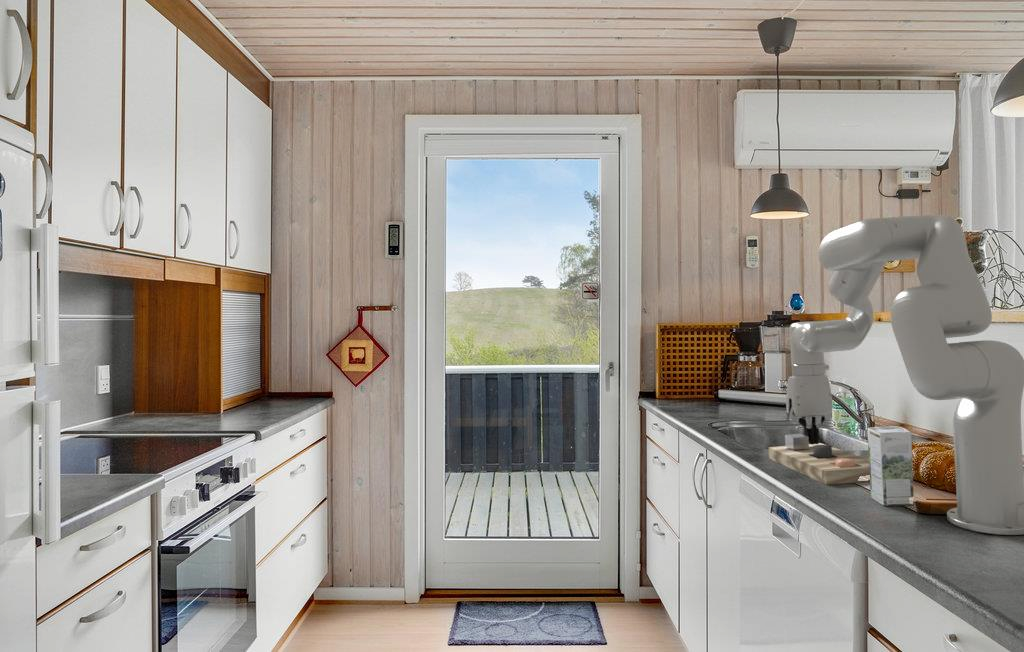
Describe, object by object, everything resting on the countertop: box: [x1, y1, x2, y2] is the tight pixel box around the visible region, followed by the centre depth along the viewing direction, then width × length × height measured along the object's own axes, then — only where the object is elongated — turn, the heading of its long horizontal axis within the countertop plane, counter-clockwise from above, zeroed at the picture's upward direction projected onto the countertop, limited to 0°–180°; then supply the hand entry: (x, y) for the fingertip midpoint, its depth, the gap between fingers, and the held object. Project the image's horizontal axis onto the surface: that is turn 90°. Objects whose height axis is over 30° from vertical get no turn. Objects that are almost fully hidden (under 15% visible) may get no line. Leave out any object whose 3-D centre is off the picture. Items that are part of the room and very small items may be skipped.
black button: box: [813, 444, 833, 459], centre depth 155 cm, size 4×4×3 cm
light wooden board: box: [768, 442, 870, 486], centre depth 155 cm, size 26×14×3 cm, turn 5°
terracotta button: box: [835, 458, 855, 468], centre depth 146 cm, size 4×4×3 cm
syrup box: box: [867, 425, 915, 507], centre depth 127 cm, size 6×6×14 cm
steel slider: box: [784, 433, 809, 450], centre depth 163 cm, size 4×4×3 cm
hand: (812, 443), depth 164 cm, fingers closed
